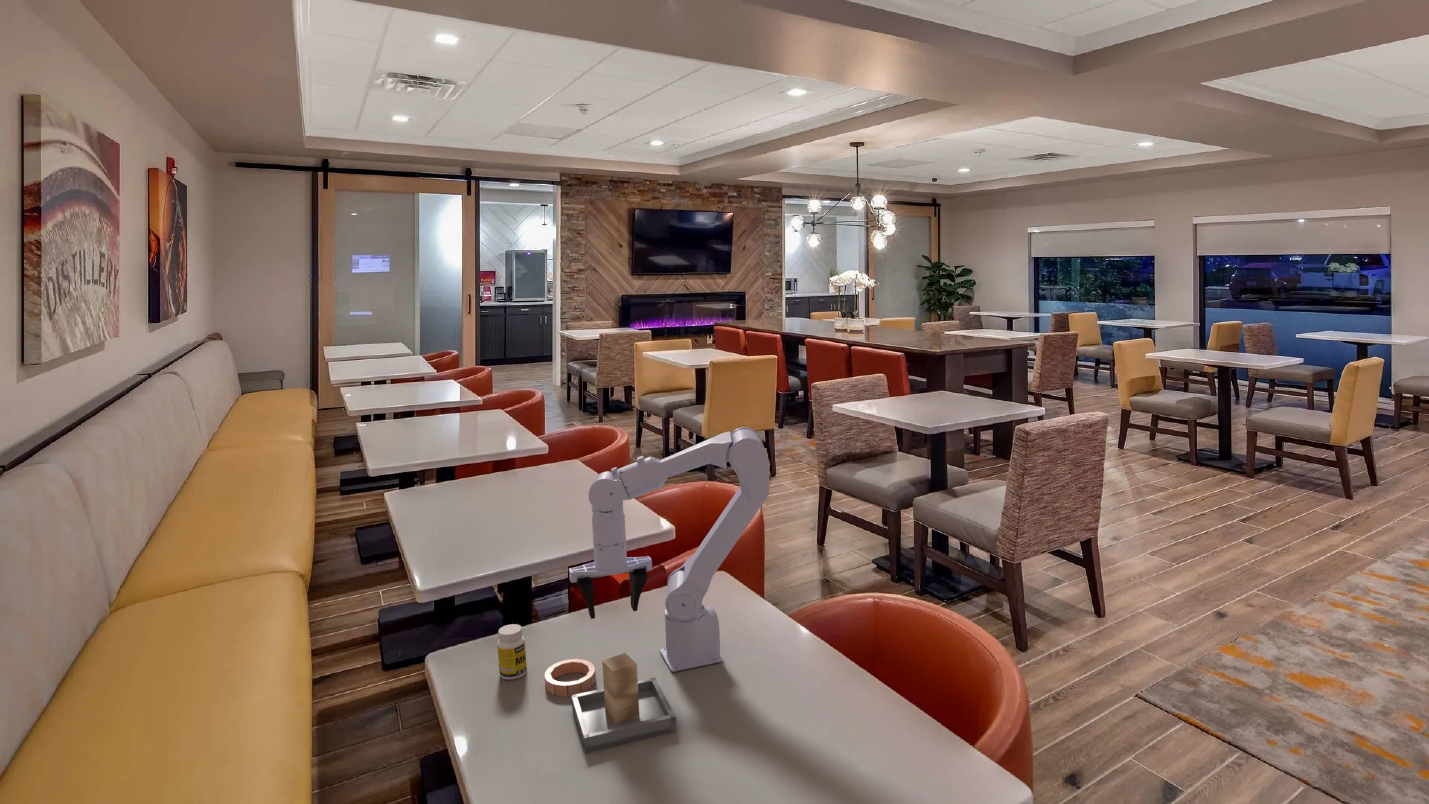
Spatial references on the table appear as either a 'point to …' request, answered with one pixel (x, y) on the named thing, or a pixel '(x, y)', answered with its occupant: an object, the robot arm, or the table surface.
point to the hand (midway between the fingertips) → (613, 612)
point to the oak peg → (620, 688)
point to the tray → (606, 733)
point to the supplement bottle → (511, 652)
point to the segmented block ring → (573, 686)
